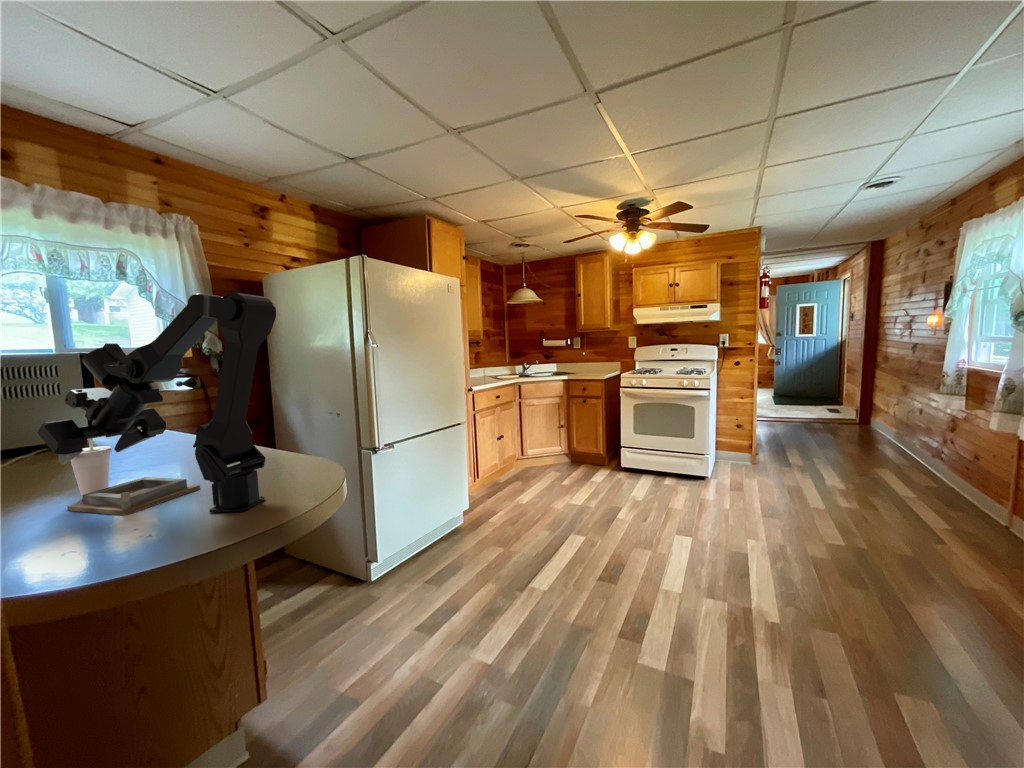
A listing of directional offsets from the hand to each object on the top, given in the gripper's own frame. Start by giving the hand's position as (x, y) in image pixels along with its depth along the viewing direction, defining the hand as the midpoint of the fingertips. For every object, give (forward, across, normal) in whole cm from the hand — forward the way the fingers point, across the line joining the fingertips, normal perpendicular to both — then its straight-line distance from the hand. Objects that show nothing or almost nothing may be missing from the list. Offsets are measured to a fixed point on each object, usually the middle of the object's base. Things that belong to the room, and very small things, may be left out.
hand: (90, 456), depth 84 cm
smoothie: (+6, 0, +6) cm, 8 cm away
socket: (-2, 0, +14) cm, 14 cm away
